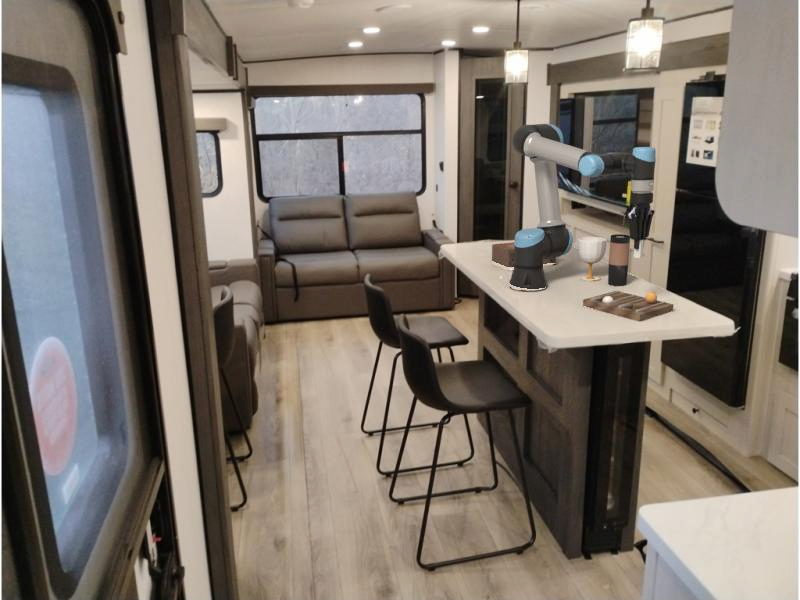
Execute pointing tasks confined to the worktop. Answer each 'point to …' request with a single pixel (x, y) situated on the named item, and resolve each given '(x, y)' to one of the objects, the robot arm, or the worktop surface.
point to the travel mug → (618, 259)
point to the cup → (591, 251)
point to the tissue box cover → (509, 254)
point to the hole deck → (628, 306)
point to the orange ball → (651, 297)
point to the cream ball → (607, 299)
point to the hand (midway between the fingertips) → (638, 257)
